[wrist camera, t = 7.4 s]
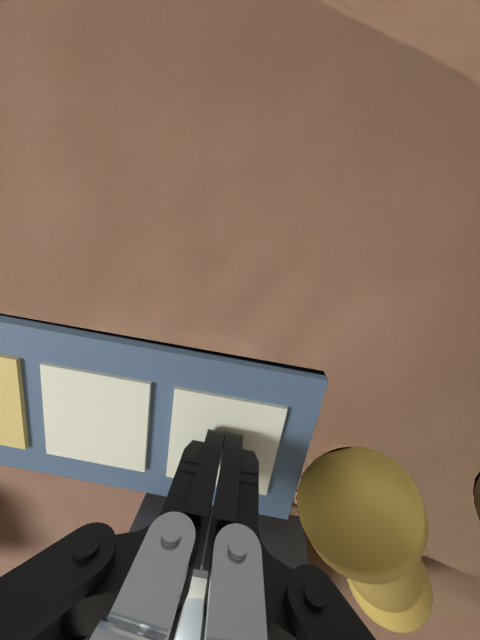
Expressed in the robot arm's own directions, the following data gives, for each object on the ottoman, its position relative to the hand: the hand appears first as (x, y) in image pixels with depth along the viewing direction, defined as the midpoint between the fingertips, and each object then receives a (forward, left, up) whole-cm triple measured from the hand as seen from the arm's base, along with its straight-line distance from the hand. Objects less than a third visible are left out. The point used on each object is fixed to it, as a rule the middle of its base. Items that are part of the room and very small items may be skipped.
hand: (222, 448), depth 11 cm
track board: (+8, 0, -1) cm, 8 cm away
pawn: (-5, 0, +1) cm, 5 cm away
